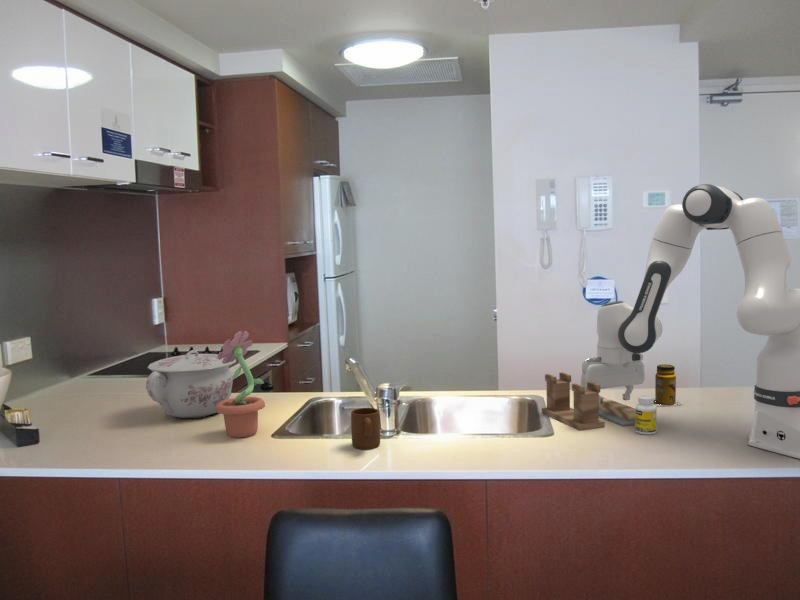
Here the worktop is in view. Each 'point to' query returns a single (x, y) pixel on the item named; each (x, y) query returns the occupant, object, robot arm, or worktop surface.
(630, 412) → the rail
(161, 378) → the chamber pot
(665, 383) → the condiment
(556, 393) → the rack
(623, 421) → the mat
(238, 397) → the decorative flower
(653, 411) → the supplement bottle
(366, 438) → the mug
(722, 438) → the worktop surface
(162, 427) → the worktop surface
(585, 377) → the robot arm
